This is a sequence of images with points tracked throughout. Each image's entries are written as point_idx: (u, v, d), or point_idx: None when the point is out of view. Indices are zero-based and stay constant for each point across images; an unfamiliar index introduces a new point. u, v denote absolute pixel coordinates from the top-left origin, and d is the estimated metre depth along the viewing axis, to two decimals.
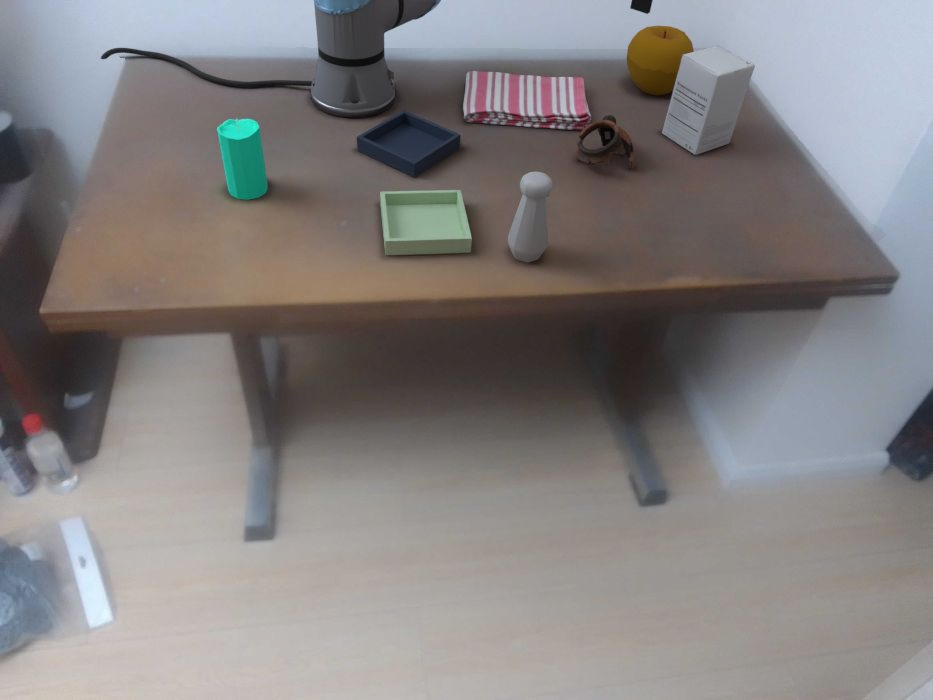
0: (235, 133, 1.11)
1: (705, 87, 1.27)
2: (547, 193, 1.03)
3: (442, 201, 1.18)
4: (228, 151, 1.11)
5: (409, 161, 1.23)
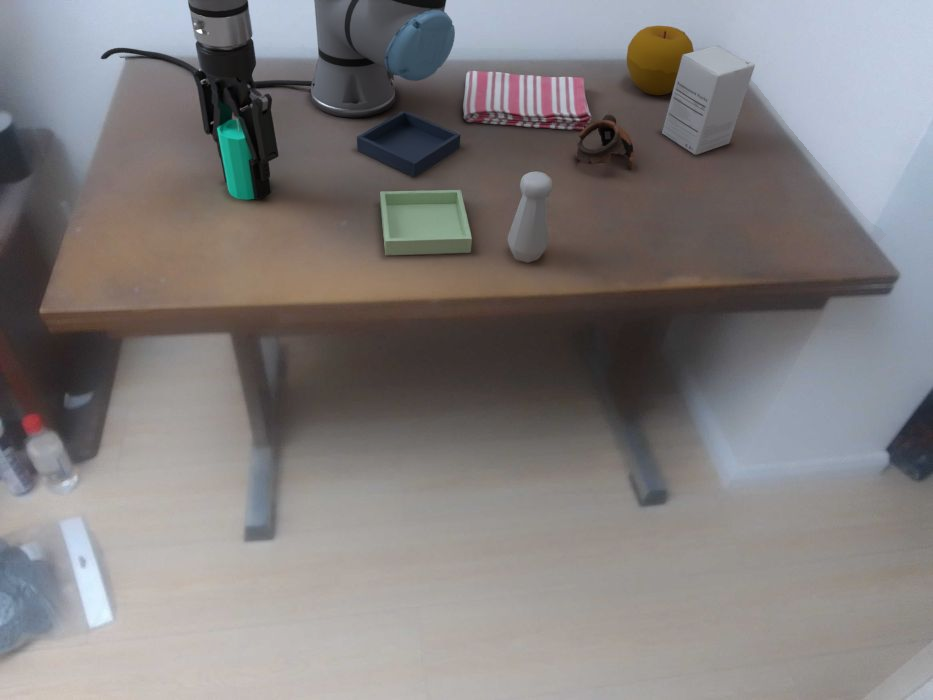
0: (235, 133, 1.11)
1: (705, 87, 1.27)
2: (547, 193, 1.03)
3: (442, 201, 1.18)
4: (228, 151, 1.11)
5: (409, 161, 1.23)
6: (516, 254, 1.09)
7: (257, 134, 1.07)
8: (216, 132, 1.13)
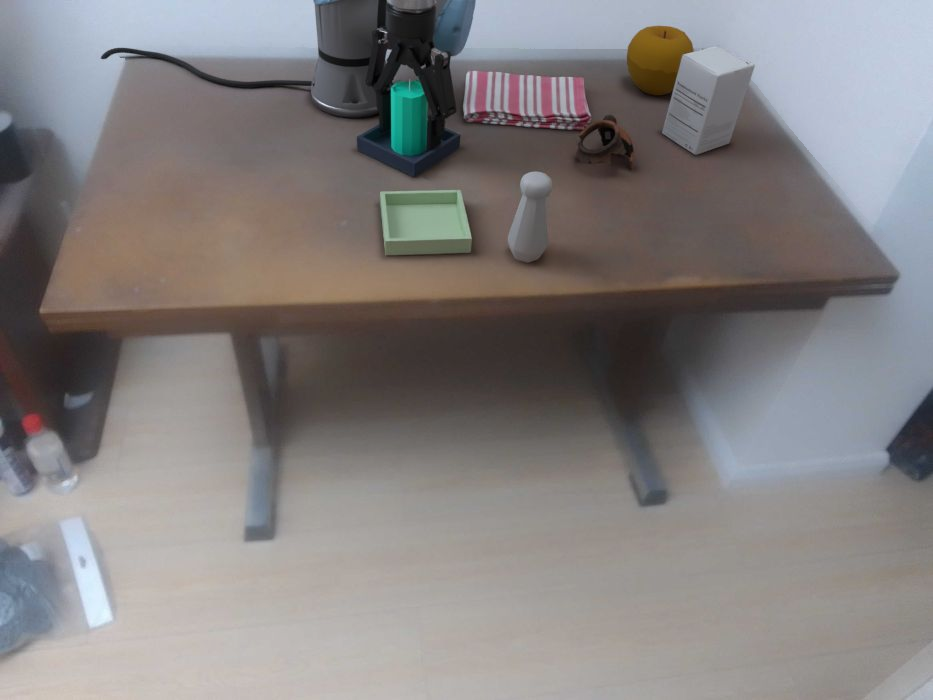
0: (407, 93, 1.22)
1: (705, 87, 1.27)
2: (547, 193, 1.03)
3: (442, 201, 1.18)
4: (401, 109, 1.22)
5: (409, 161, 1.23)
6: (516, 254, 1.09)
7: (439, 90, 1.18)
8: (380, 85, 1.24)
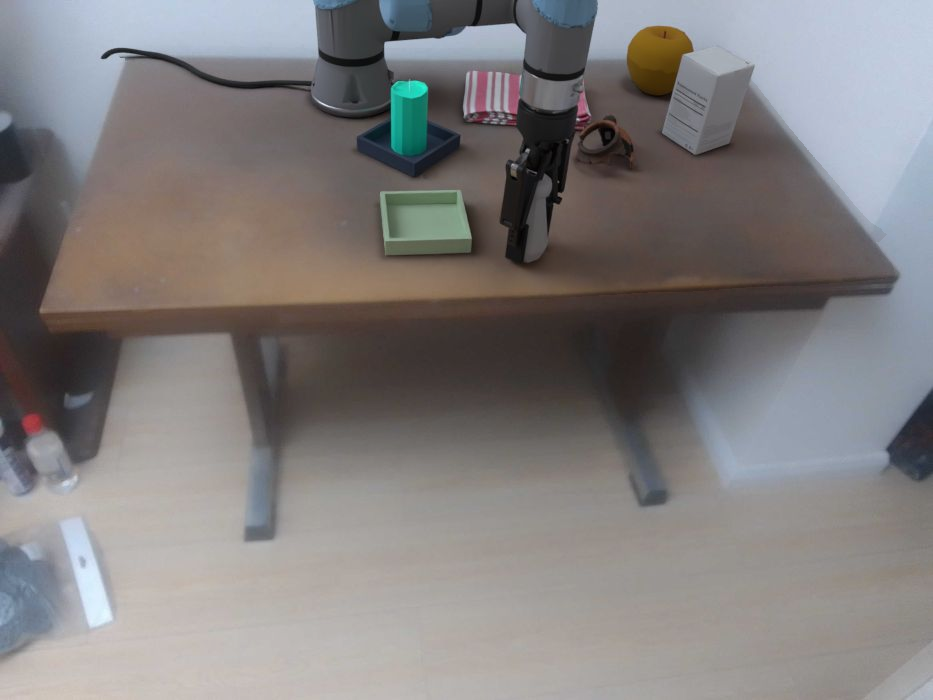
0: (407, 93, 1.22)
1: (705, 87, 1.27)
2: (547, 193, 1.03)
3: (442, 201, 1.18)
4: (401, 109, 1.22)
5: (409, 161, 1.23)
6: None
7: (565, 166, 1.06)
8: (526, 215, 1.03)
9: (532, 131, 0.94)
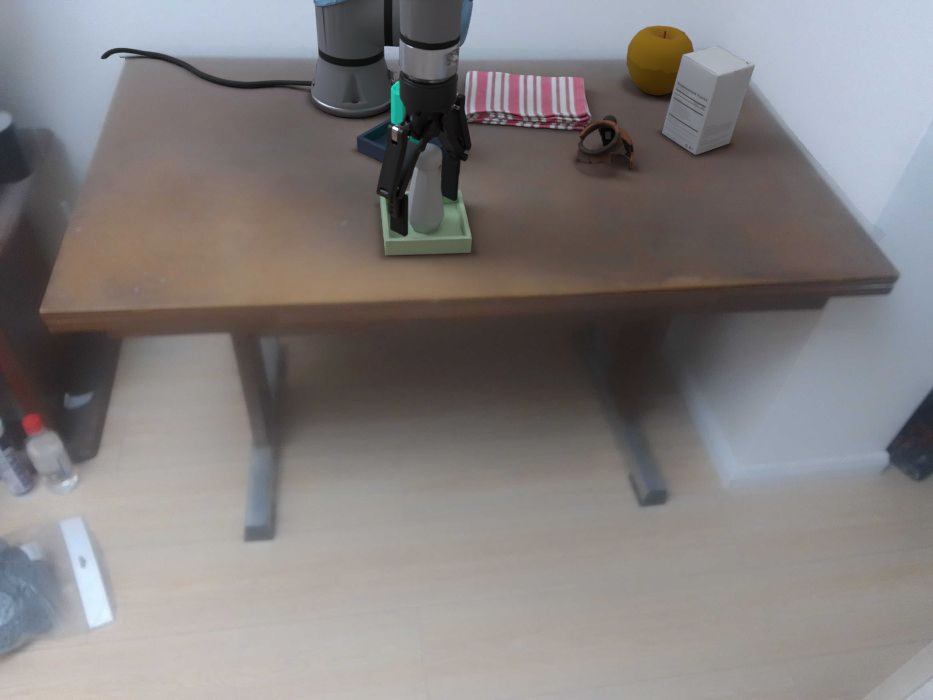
0: None
1: (705, 87, 1.27)
2: (437, 163, 1.05)
3: None
4: (401, 109, 1.22)
5: None
6: (413, 225, 1.12)
7: (464, 128, 1.08)
8: (405, 186, 1.03)
9: (412, 100, 0.97)
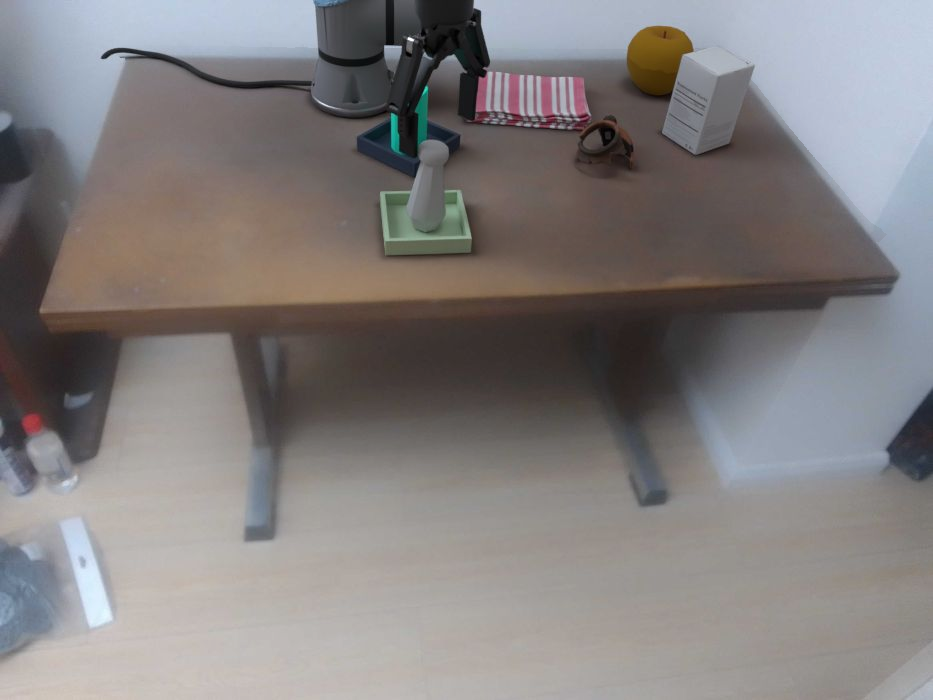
0: None
1: (705, 87, 1.27)
2: (443, 160, 1.05)
3: None
4: None
5: (409, 161, 1.23)
6: (414, 222, 1.11)
7: (481, 44, 1.06)
8: (416, 103, 1.00)
9: (427, 13, 0.95)
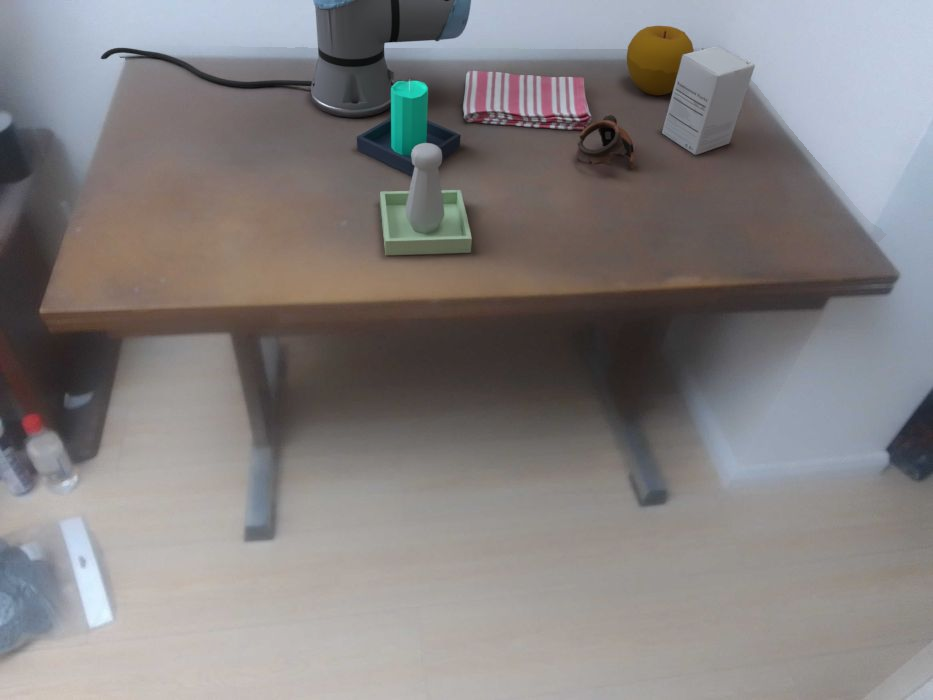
0: (407, 93, 1.22)
1: (705, 87, 1.27)
2: (437, 163, 1.05)
3: None
4: (401, 109, 1.22)
5: (409, 161, 1.23)
6: (413, 225, 1.12)
7: None
8: None
9: None
